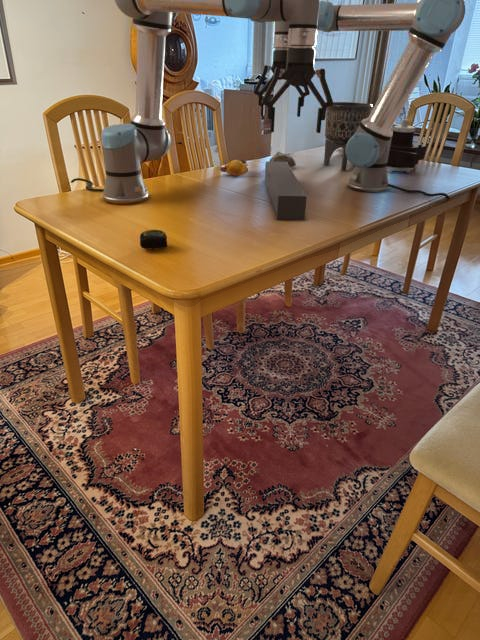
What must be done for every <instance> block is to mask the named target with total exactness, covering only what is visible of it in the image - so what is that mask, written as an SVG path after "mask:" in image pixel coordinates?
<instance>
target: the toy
mask: <svg viewBox="0 0 480 640" xmlns="http://www.w3.org/2000/svg"><path fill="white" fill-rule="evenodd" d="M248 165H249V164H248V162H247V160H245V159H242V160H239V159H233V160H231V161H229V162H227V163H226V164H224V166H221V167H220V168H219V170H220V172H222V173H227V174H229V175H232V176H235V177H240V176H242V175H245V174H247V173H248V172H249V168H248Z"/></svg>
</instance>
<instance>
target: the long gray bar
mask: <svg viewBox="0 0 480 640" xmlns="http://www.w3.org/2000/svg"><path fill="white" fill-rule="evenodd" d="M264 183H265V185H266V189H267V192H268V195H269V199H270V201H271V202H270V203H271V205H272V209H273V211H274V214H275V218H276V220H277V221H279V220H280V221H305V216H306V208H307V207H306V206H307V197H308V196H307V195H306V193H305V191H304V189H303V188H302V185H301V184H300V182H299V180H298V179H297V177H296V175H295V174H294V171H293V170H292V167H290V166H289V165H288V163H287V162H269V160H268V161H265V167H264Z"/></svg>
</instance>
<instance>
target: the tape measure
mask: <svg viewBox="0 0 480 640" xmlns="http://www.w3.org/2000/svg"><path fill="white" fill-rule="evenodd" d="M167 236H168V235H167V234H166V232H165V231H164V230H161V229H147V230H144V231H143V232H141V233H140V235H139V240H140V241H139V245H140V246H139V247H141V248H142V249H146V250H157V249H167V248H168V240H167V239H168V237H167Z"/></svg>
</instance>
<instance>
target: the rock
mask: <svg viewBox="0 0 480 640" xmlns="http://www.w3.org/2000/svg"><path fill="white" fill-rule="evenodd" d="M268 162H287V163H288V165H289V166H290V168H293V167H296V166H297V165H296V164H297V163H296V159H294V157H292V156H291V155H288V154H286V153H283V152H281V151H277V152H276V153H275V154H274V155H273V156H272V157H271V158H270V159H269V160H268Z"/></svg>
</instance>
